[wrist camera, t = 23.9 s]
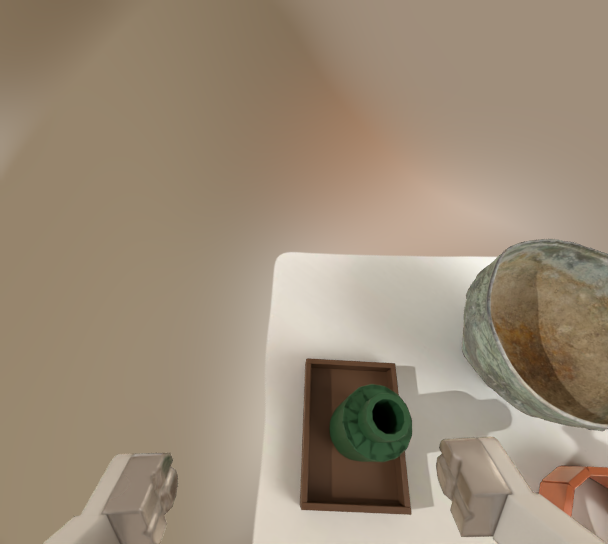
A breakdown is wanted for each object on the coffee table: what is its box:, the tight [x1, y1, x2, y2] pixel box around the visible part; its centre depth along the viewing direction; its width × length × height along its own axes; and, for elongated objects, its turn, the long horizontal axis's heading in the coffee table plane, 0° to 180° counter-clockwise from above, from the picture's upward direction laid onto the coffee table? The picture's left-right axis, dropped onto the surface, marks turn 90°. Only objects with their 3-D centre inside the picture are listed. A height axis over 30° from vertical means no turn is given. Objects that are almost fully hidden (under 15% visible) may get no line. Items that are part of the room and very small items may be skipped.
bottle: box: [329, 384, 412, 462], centre depth 32 cm, size 6×6×14 cm
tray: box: [300, 359, 411, 515], centre depth 37 cm, size 15×11×3 cm
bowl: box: [462, 239, 608, 431], centre depth 37 cm, size 20×19×15 cm
